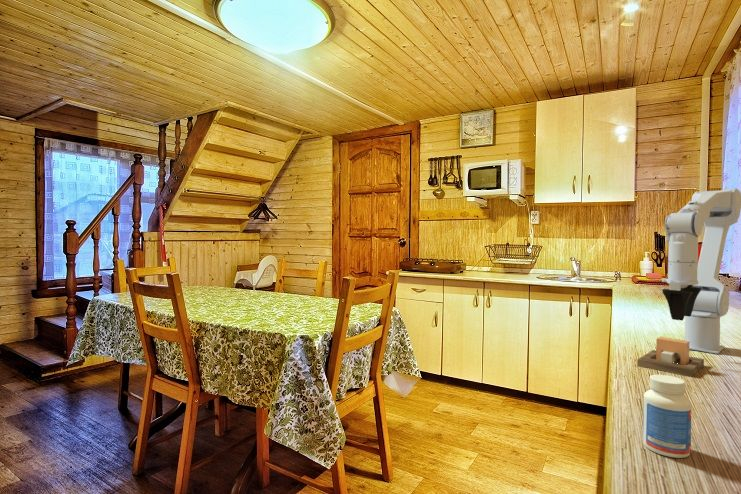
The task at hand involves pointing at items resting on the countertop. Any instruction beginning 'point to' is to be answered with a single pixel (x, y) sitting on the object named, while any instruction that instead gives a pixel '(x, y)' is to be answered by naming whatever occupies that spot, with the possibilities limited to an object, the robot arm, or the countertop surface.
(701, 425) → the countertop surface
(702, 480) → the countertop surface
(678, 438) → the pill bottle
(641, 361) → the brown rectangular frame
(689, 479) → the countertop surface
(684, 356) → the orange block
